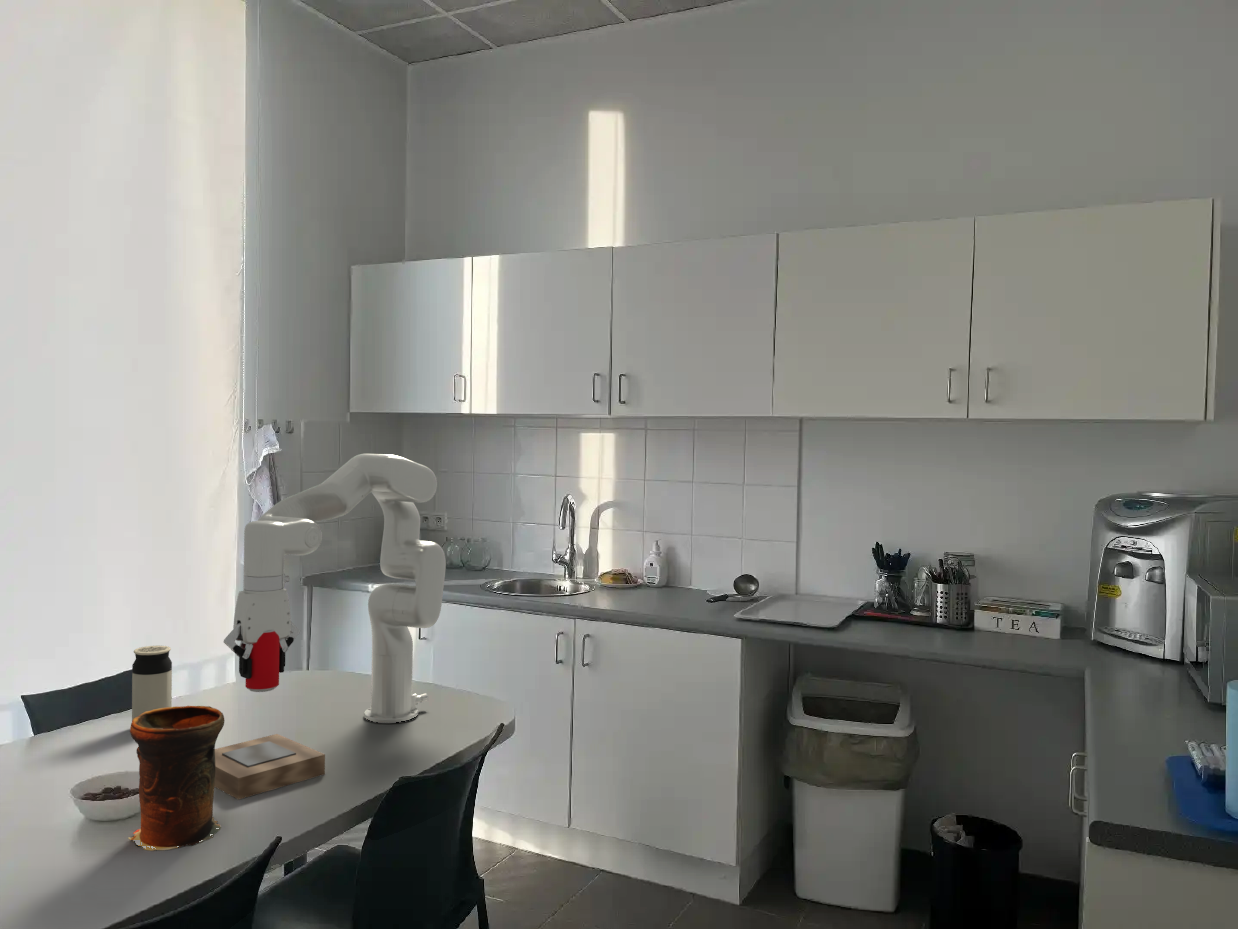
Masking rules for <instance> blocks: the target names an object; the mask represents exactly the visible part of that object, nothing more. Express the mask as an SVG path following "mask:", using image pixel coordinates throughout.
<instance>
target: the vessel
mask: <svg viewBox="0 0 1238 929" xmlns="http://www.w3.org/2000/svg"><path fill="white" fill-rule="evenodd" d="M224 725H225V716H224V713H223V712H222V711H220V709H217V708H215V707H212V706H209V705H208V706H207V705H185V706H183V705H182V706H178V705H177V706H172V707H166V708H159V709H154V710H151V711H146V712H144V713H142V714H141V715H139V716H138V717H136V718H134V719H133V721H132V720H131V723H130V728H129V733H130V736H131V738H132V740H133V741H134V742H135V743H136V744H137V746H138V747H137V748H136V755H137V759H138V761H139V767H138V776H139V779H138V781H139V784H138V797H139V800H138V802H139V806H140V807H139V808H140V828H138V829H136V830H135V831H134V832H133V833H132V834H134V835H133V836H132V837H129V836H128V837H127V838H128V840H129V841H131V840H140V845H138V846H146V849H145V848H144V849H143V850H145V851H151V852H153V851H156V850H157V851H167V850H168V851H169V850H174V849H179V848H181V847H186V846H194V845H195V846H196V845H197V844H201V843H204V842H203V841H202V842H200V843H199V841H201V840H204V841H208V840H209V839H213V838H214V836H215V834H217V833H218V832H219V831H221V830H222V827H221V824H219V821H218V820H215V818H214V816H213V815H214V814H213V811H214V808H213V807H214V805H213V804H214V796H215V788H216V787H215V768H216V765H215V749H216V742H217V740H218V737H219V734H220V733H221V731H222V729H223V728H224ZM217 823H218V824H217ZM216 828H219V829H216ZM210 834H213V835H211V836H210ZM212 836H213V837H212ZM141 842H142V845H141ZM196 843H197V844H196ZM147 846H150V848H149V847H147ZM151 846H153V847H155V848H156V849H155V848H153V849H152V848H151ZM177 846H179V848H178V847H177Z"/></svg>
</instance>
